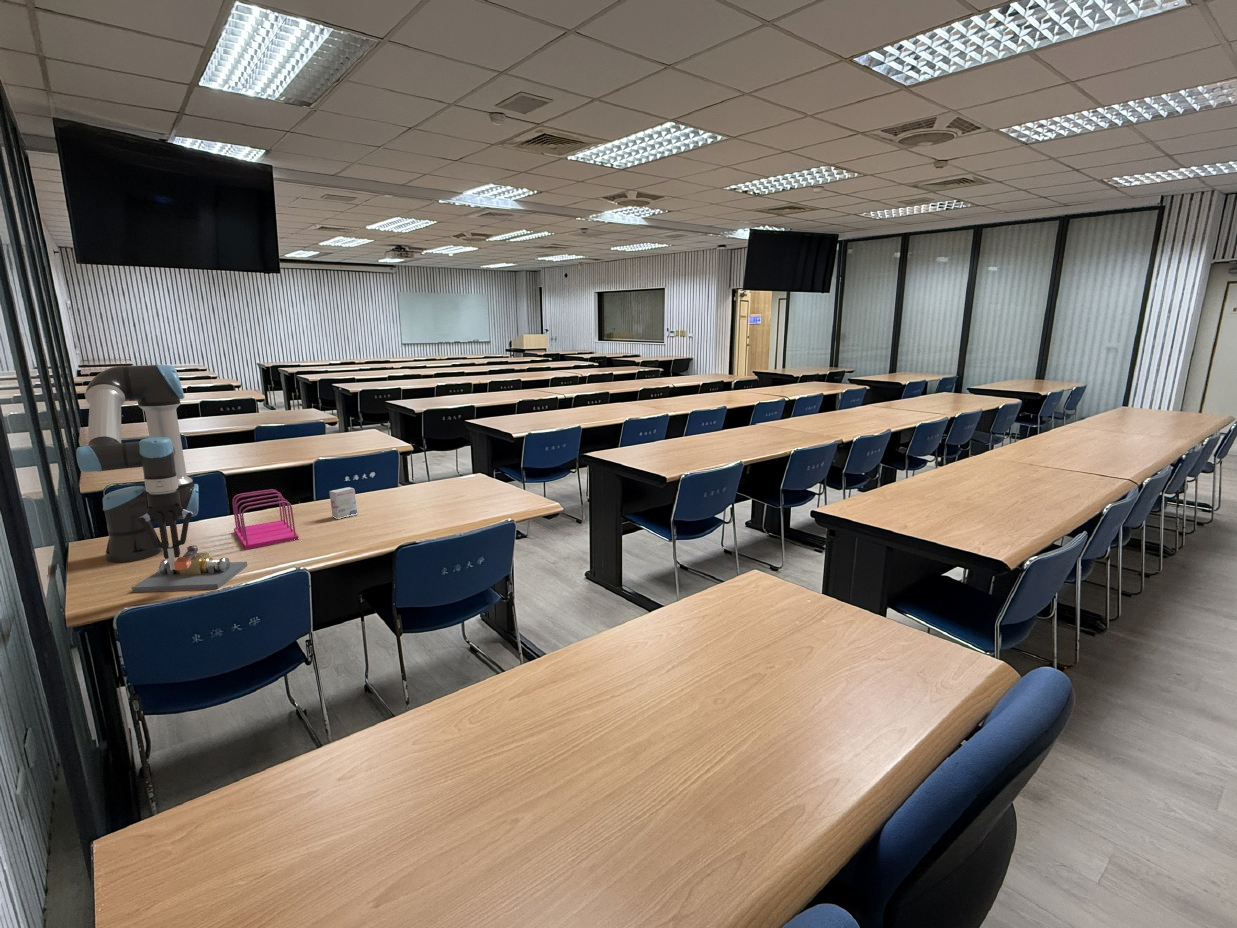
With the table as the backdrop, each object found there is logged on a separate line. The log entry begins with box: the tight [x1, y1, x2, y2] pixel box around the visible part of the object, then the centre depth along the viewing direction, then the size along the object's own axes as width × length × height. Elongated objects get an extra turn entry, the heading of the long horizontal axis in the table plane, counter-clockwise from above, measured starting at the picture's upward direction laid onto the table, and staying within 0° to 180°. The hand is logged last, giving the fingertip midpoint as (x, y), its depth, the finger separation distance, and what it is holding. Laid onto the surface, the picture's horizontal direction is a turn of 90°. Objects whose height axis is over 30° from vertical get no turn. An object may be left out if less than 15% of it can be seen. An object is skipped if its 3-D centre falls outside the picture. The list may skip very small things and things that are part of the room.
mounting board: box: [131, 561, 248, 593], centre depth 189 cm, size 24×18×2 cm
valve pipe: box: [158, 552, 231, 576], centre depth 191 cm, size 18×6×6 cm, turn 96°
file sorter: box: [232, 488, 300, 551], centre depth 227 cm, size 17×25×16 cm
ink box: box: [328, 486, 358, 518], centre depth 251 cm, size 9×5×12 cm, turn 141°
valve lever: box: [174, 545, 199, 570], centre depth 184 cm, size 15×3×3 cm, turn 22°
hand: (174, 567), depth 179 cm, fingers closed
